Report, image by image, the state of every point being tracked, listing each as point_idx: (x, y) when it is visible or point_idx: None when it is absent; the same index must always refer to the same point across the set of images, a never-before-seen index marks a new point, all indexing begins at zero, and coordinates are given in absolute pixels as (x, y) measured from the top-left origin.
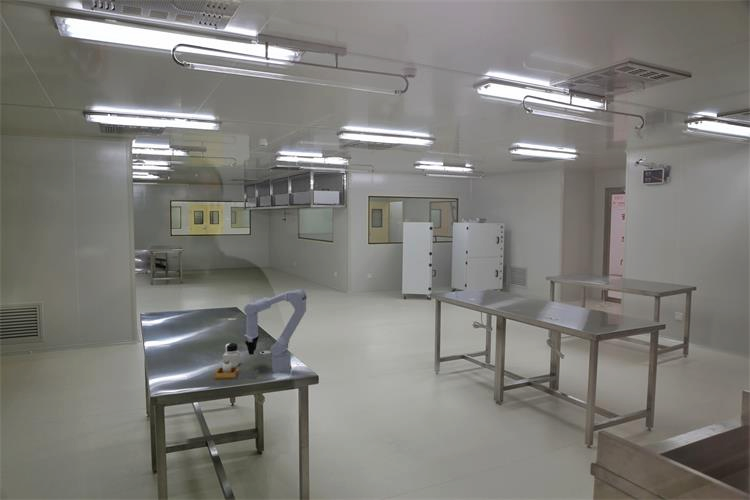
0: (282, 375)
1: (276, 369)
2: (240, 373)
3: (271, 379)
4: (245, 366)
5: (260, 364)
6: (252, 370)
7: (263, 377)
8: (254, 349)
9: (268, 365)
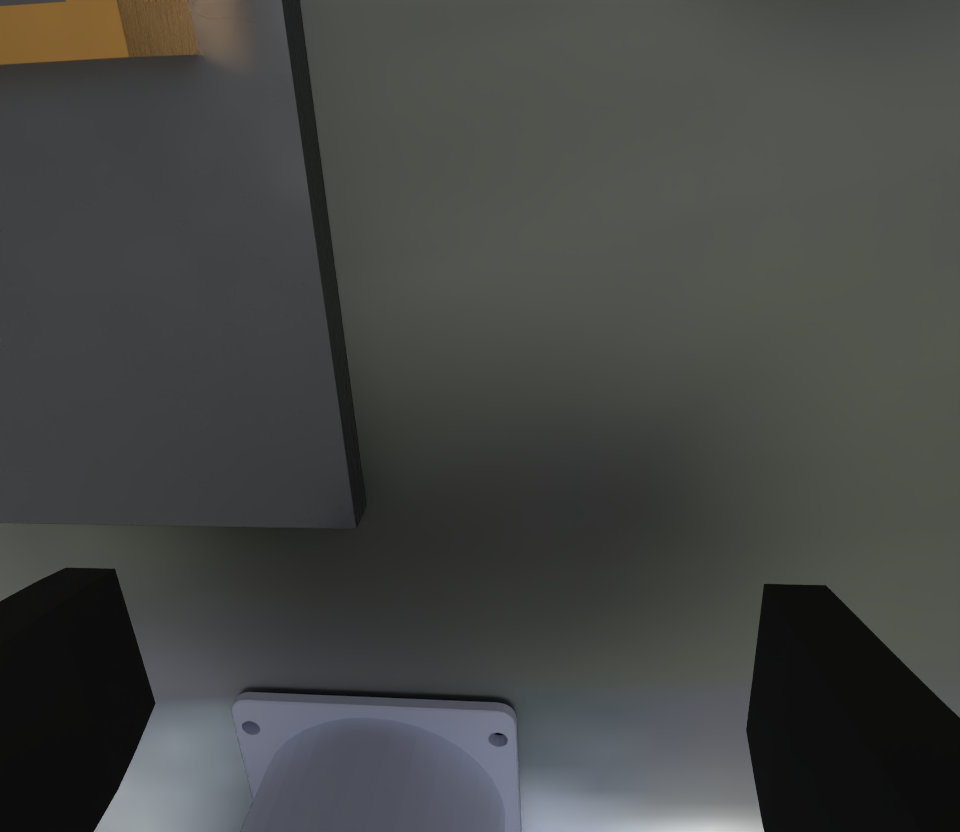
0: (222, 823)
1: (241, 829)
2: (85, 139)
3: None
4: (866, 107)
5: (948, 464)
6: (334, 388)
7: None
8: (761, 736)
9: None
